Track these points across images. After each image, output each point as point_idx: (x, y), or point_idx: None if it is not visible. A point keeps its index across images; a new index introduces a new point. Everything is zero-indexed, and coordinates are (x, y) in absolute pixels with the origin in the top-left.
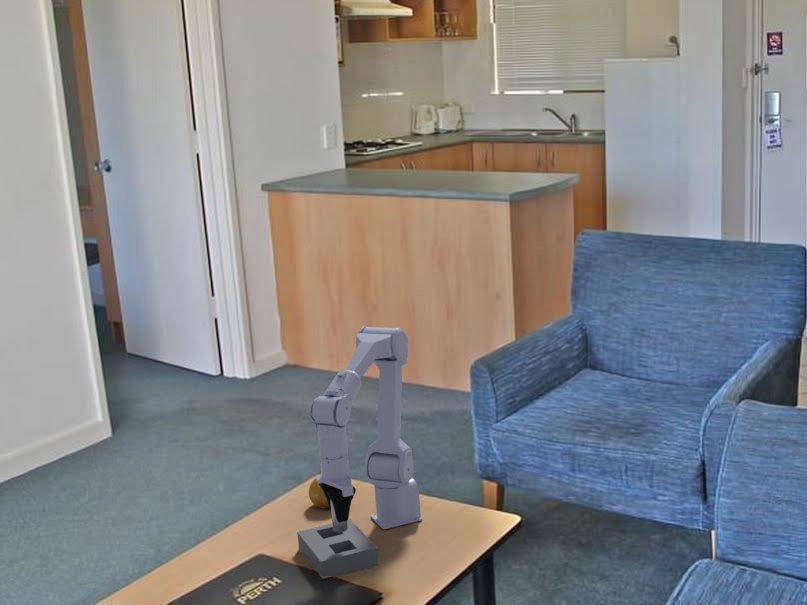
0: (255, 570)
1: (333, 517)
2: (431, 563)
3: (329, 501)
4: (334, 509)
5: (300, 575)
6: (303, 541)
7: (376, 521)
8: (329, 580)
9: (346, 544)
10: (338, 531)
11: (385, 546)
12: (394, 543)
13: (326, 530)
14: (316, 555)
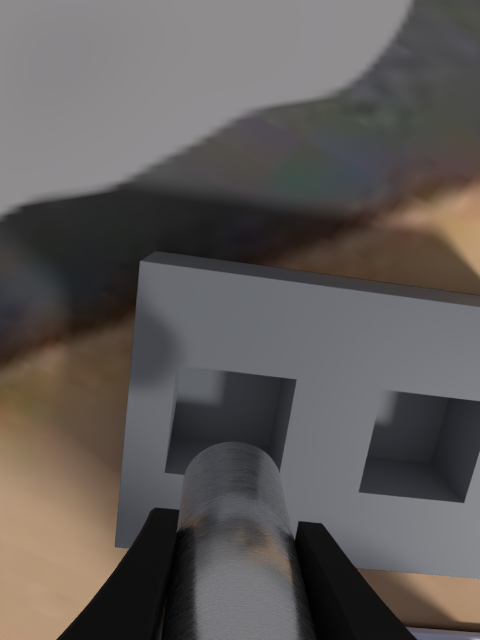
0: (462, 22)
1: (220, 511)
2: (33, 634)
3: (344, 629)
4: (140, 587)
5: (263, 188)
6: (448, 301)
7: (461, 636)
8: (136, 274)
9: (278, 457)
10: (194, 460)
11: None
12: None
13: (472, 447)
14: (224, 274)
